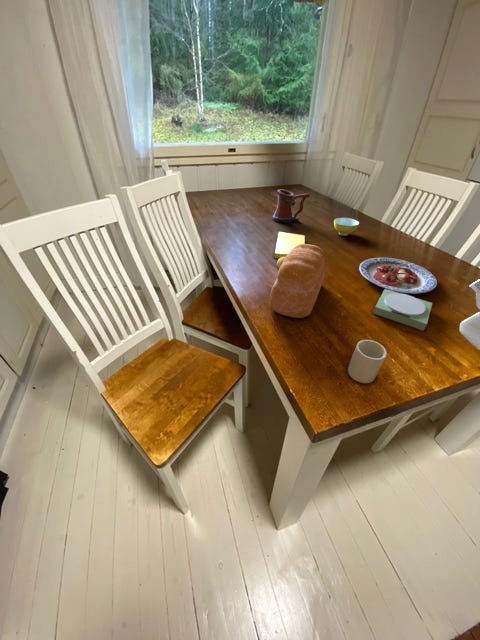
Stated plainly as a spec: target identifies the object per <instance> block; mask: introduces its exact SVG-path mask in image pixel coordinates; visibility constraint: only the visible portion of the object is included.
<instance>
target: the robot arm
mask: <svg viewBox="0 0 480 640" xmlns="http://www.w3.org/2000/svg"><path fill="white" fill-rule="evenodd" d="M468 286H469V287H470V288H471V290H473V291H474V292H475V306H476V307H477V308H478V309H479V310H480V278H479V279H477V280H475V281H474V282H472V283H471V284H469V285H468ZM458 331H459V333H461V335H462V336H463V337H464V338H465V339H466V340H467V341H468V342H469V343H470V344H471V345H472V346H474V347H475V348H476V349H477V350H478V351H479V352H480V311H479V312H476V313H475V314H473V315H471V316H470V317H467V318H465V319H464V320H462V321H461V322H460V323H459V330H458Z"/></svg>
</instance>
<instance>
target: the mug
mask: <svg viewBox="0 0 480 640" xmlns="http://www.w3.org/2000/svg"><path fill="white" fill-rule="evenodd" d="M310 195H311V194H310V193H309V192H308V193H304V194H303V193H302V194H296V195H294V193H293V192H292V191H289V190H287V189H283V188H279V189H277V205H276V209H275V212H274V214H273V215H272V219H273V221H275V222H277V223H281V224H288V223H292V222H293V221H295V222H298V221H300V218H299V217H297V216H298V215H299V214H301V213H302V212H303V210H304V202H305V201H306V199H307V198H310ZM300 198H302V199H301V201H300V203H299V209H298V210H297V211H296V212H295V213H294V214H293V211H292V207H294V206H295V205H296V203H297V199H300Z"/></svg>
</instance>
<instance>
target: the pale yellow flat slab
mask: <svg viewBox="0 0 480 640" xmlns="http://www.w3.org/2000/svg"><path fill="white" fill-rule="evenodd" d="M305 237H306V235H303V234H297V233H291V232H283V231H278V234H277V240H276V245H275V251H274V259H280V258H281V257H286V256H287V255H288V254H289V253H290V252H291V250H292V249H293V248H294V247H296V246H297V245H300V244H306V243H305V242H306V240H305Z"/></svg>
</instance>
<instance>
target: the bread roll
mask: <svg viewBox="0 0 480 640" xmlns="http://www.w3.org/2000/svg"><path fill="white" fill-rule="evenodd" d="M284 259H285V257H281V258H278V259H277V262H276V267H277V268H278V269H279V268H280V267H281V265H282V263H283V261H284Z"/></svg>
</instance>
